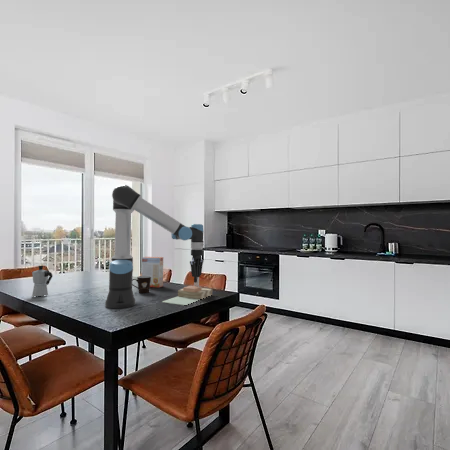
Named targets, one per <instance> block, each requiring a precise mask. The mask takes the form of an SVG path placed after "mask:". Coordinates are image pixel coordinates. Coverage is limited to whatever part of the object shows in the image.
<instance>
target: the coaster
mask: <svg viewBox="0 0 450 450" xmlns="http://www.w3.org/2000/svg"><path fill="white" fill-rule="evenodd" d="M202 288H203V287H202V286H201V285H199V286H194V285H188V286H184V287H182V289H183V291H187V292H197V291H200V290H202Z"/></svg>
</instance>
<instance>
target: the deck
mask: <svg viewBox="0 0 450 450" xmlns="http://www.w3.org/2000/svg"><path fill="white" fill-rule="evenodd" d="M211 295H212V296H213V288H207V287H202V290H200V291H197V292H187V291H183V288H180V289H178V290H177V296H178V297H185V298H193V299H202V300H204V299H207V298H209V297H208V296H210V297H211ZM206 297H207V298H206ZM203 298H204V299H203Z"/></svg>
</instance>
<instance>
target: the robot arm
mask: <svg viewBox="0 0 450 450" xmlns="http://www.w3.org/2000/svg"><path fill="white" fill-rule="evenodd" d="M111 197H112V201H113V202H112V204H113V205H112V210H113V212H114V213H115V221H114V222H115V224H114V225H115V227H114V228H115V229H114V230H115V231H114V255H113V256H111V261H110V263H109V267H108V269H109V274H108V275H109V278H108V279H109V282H108V293H107V298H106V300H105V301H104V307H105V308H108V309H127V308H130V307H134V306H135V305H136V298H135V295H134V292H133V285H132V284H133V281H132V280H133V271H134V258H133V256H132V254H131V244H132V243H131V242H132V237H131V236H132V235H131V234H132V214H133V213H134V211H135V212H137V213H139V214H140V215H142V216H143V217H145V218H146V219H149V220H150V221H151V222H152V223H155V224H156V225H158V226H159V227H161V228H163V229H164V230H166V231H167V232H169V233H170V234H171V239H172V240H182V241H188V240H190V248H191V250H190V256H192V257H191V260H190V261H189V264H190V271H191V276H192V277H191V278H193V286H200V277H202V271H203V264H204V262H205V260H204V259H202V256H203V255H204V250H203V249H204V233H205V232H204V225H203V224H201V223H192V224H191V226H186V225H184V224H183V223H181V222H180V221H178V220H176V219H175V218H173V217H172V216H170V215H169V214H167V213H165V212H164V211H162V210H161V209H160V208H158V207H156V206H155V205H154V204H151V202H148V201H147V200H146V199H144V198H143V197H142V195H141V194H140V193H138V192H137V191H135V190H134V189H133V188H132V187H131V186H129V185H127V184H119V185H117V186H116V187H114V189H112V194H111Z"/></svg>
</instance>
